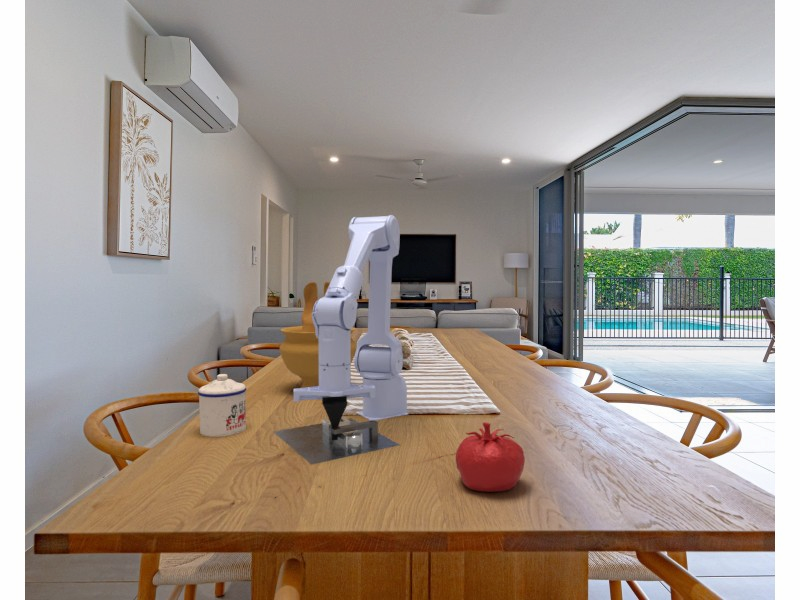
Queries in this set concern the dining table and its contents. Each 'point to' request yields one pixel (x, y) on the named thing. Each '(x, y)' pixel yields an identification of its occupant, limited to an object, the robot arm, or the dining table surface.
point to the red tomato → (489, 461)
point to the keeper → (358, 426)
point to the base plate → (327, 443)
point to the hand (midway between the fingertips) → (334, 438)
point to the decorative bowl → (306, 342)
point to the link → (345, 436)
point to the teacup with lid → (222, 407)
